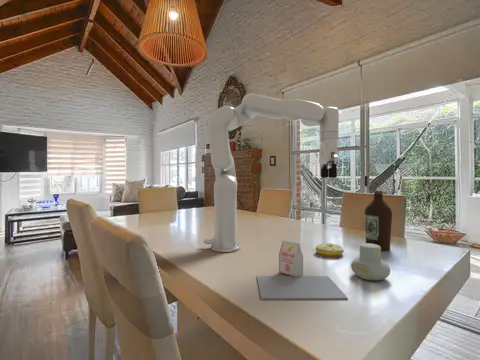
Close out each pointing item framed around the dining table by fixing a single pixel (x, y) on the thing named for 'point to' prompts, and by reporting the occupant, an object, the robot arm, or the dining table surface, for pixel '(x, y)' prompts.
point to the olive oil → (378, 222)
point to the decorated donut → (329, 250)
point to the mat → (299, 288)
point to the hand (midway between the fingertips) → (328, 177)
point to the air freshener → (370, 263)
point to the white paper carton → (291, 259)
